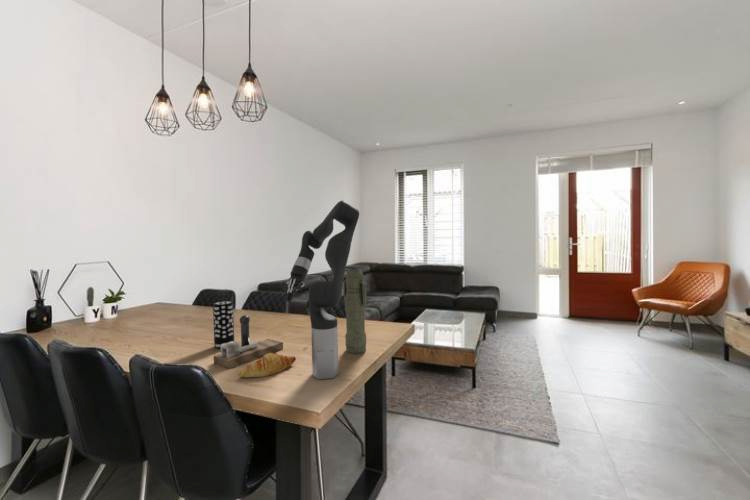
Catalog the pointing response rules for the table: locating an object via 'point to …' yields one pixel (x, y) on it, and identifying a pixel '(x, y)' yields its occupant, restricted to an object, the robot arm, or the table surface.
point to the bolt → (246, 335)
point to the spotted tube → (223, 323)
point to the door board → (244, 352)
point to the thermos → (355, 311)
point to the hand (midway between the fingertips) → (287, 301)
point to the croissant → (267, 365)
